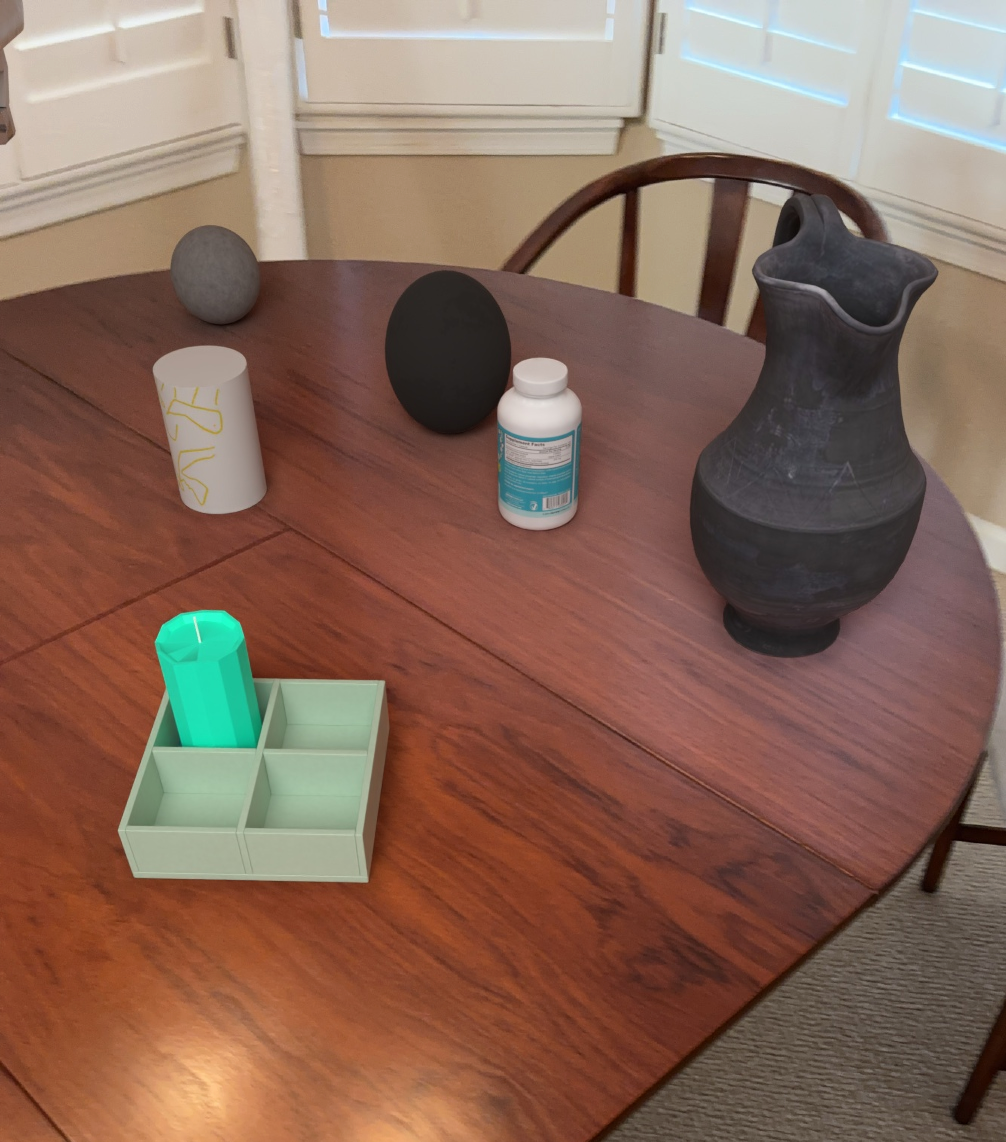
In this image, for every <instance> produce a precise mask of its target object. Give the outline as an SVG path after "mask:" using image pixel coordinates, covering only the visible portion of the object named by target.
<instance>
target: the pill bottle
mask: <svg viewBox="0 0 1006 1142" xmlns="http://www.w3.org/2000/svg"><path fill="white" fill-rule="evenodd" d="M512 369H513V370H512V387H511V388H509V389H508V390H506V391H505V392H504V394H503V396H502V398H501V399H500V401H499V403H498V405H497V409H496V412H497V413H496V414H497V416H496V417H497V502H498V503H497V506H498V510H499V512H500V515H501V516H502V518H503V519H504V520H505V521H506V522H507V523H509V524H511V525H513V526H515V527H517V528H520V529H522V530H523V529H524V530H528V531H547V530H554V529H556V528H560V527H562V526H564V525H566V524H568V522H570V521H571V520H572V519H573V518H574V516H575V515H576V513H577V510H578V503H579V487H580V485H579V484H580V464H581V463H580V460H581V442H582V440H581V439H582V420H583V408H582V403H581V400H580V399H579V396H578V395H577V394H576V393H575V392H574V391H573V390H571V389H570V388H569V387H567V386H568V385H569V370H568V366H567V365H566V364H564V363H563V361H560V360H557V359H555V358H549V357H531V358H527V359H524V360H521V361H518V362H517V363H516V364H515V365H514V366H513V368H512Z"/></svg>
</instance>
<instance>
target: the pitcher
mask: <svg viewBox="0 0 1006 1142" xmlns="http://www.w3.org/2000/svg"><path fill="white" fill-rule="evenodd" d="M751 274H752V277H753V279H754V281H755V283H756V286H757V288H758V291H759V294H760V297H761V302H762V308H763V312H764V313H763V314H764V323H765V331H766V336H765V353H764V355H765V356H764V360H763V363H762V367H761V370H760V372H759V375H758V379H757V381H756V384H755V387H754V389H753V390H752V392H751V393H750V395H749V397H748V399H747V400H746V402H745V404H744V405H743V407H742V408H741V410H740V411H739V412H738V414H737V415H736V416H735V418H734V419H733V420H732V421H731V423H730V424H728V426H727V427H726V428H725V429H724V430H723V431H721V432H720V433H719V434H718V435H716V436H715V437H714V438H713V439H712V440H711V441H710V442H709V443H708V444H707V445H706V446H705V447H704V448H703V449H702V450H701V452H700V454H699V455H698V457H697V461H696V465H695V469H694V473H693V477H692V482H691V489H690V499H689V501H690V502H689V528H690V536H691V537H690V538H691V542H692V547H693V551H694V555H695V558H696V560H697V562H698V564H699V567H700V569H701V571H702V573H703V575H704V576H705V578H706V579H707V581H708V582H709V584H710V585H711V586H712V587H713V588H714V590H715V591H716V592H717V594H719V595H720V597H721V598H723V600H725V602H726V604H725V606H724V610H723V612H722V615H723V619H722V620H723V621H722V622H723V625H724V629H725V631H726V632H727V633H728V636H730V638H732V639H733V640H734V642H736V643H737V644H739V645H741V646H742V647H744V648H745V649H748V650H750V651H752V652H754V653H757V654H761V655H763V656H764V655H765V656H769V657H776V658H798V657H799V658H800V657H804V656H805V657H806V656H809V655H813V654H817V653H820V652H822V651H825V650H826V649H828V648H829V647H830V646H831V645H832V644H833V643H834V642H835V641H837V638H838V636H839V634H840V631H841V619H840V618H843V617H844V616H846V615H848V614H850V613H852V612H854V611H856V610H859V609H860V608H863V607H864V606H866V605H867V604H869V603H870V602H872V601H873V600H874V599H875V598H876V597H878V596H879V595H880V594H881V593H882V592H883V591H884V590H885V589H886V588H887V586H888V585H889V584H890V583H891V582H892V580H893V579H894V578H895V576H896V575H897V573H898V571H899V570H900V568H901V567H902V565H903V564H904V561H905V560H906V557H907V555H908V553H909V551H910V548H911V546H912V543H913V540H914V538H915V535H916V533H917V529H918V525H919V522H920V519H921V514H922V511H923V505H924V501H925V498H926V492H927V486H928V485H927V484H928V482H927V476H926V472H925V469H924V467H923V465H922V463H921V461H920V459H919V458H918V457H917V456H916V454H915V453H914V452H913V449H912V448H911V444H910V441H909V438H908V434H907V431H906V427H905V423H904V416H903V409H902V395H901V382H900V373H899V354H900V353H899V352H900V345H901V342H902V339H903V335H904V333H905V329H906V327H907V324H908V321H909V319H910V316H911V314H912V312H913V310H914V308H915V306H916V303H918V302H919V300H920V298H921V297H922V296H923V294H924V293H925V292H926V291H927V290H928V289H929V288H930V287H931V286H933V285H934V283H935V282H936V280H937V279H938V276H939V270H938V268H937V267H936V265H935V264H934V263H933V262H932V260H931V259H929V258H928V257H927V256H924V255H923V254H921V253H919V252H917V251H914V250H913V249H910V248H907V247H904V246H901V245H898V244H893V243H889V242H885V241H881V240H877V239H872V238H867V237H862V236H858V235H855V234H854V233H853V232H851V230H849V228H848V227H847V225H846V223H845V222H844V220H843V218H842V216H841V213H840V211H839V209H838V206H837V205H836V203H835V202H834V200H833V199H832V198H831V197H830V196H829V195H826V194H821V193H814V194H811V195H807V194H805V193H801V192H800V193H799V192H798V193H796V194H795V195H793V196H791V197H789V198H788V199H786V201H785V202H784V203H783V206H782V207H781V209H780V212H779V215H778V219H777V223H776V226H775V231H774V236H773V242H772V246H771V248H770V249H767V250H765V251H764V252H763V253H761V254H760V255H759V256H758V257H757V258H756V259H755V260H754V264H753V266H752V269H751Z"/></svg>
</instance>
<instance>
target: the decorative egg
mask: <svg viewBox="0 0 1006 1142" xmlns="http://www.w3.org/2000/svg"><path fill="white" fill-rule="evenodd" d="M384 358H385V359H384V360H385V367H386V372H387V376H388V379H389V382H390V386H391V388H392V390H393V393H394V395H395V396H396V398H397V401H398V402H399V403H400V406H402V408H403V409H404V411H405V412H406V413H407V414H408V415H409V416H410V417H411V418H412V419H413V420H414V421H416V422H417V423H418V424H420V425H421V426H423V427H424V428H426V429H429V430H431V431H434V432H437V433H440V434H441V433H442V434H460V433H464V432H466V431H467V432H468V431H470V430H471V429H474V428H476V427H477V426H479V425H480V424H481V423H483V422H484V421H485V420H486V419H487V418H489V417H490V415H491V414H493V412H494V411H495V410H496V408H498V404H499V401H500V399H501V398H502V396H503V395H504V394H505V392H506V388H507V385H508V383H509V379H510V374H511V367H512V342H511V336H510V331H509V327H508V323H507V320H506V318H505V314H504V313H503V310H502V308H501V306H500V305H499V303H498V301H497V300H496V298H495V297H494V296H493V294H492V293H491V292H490V291H489V289H488V288H486V286H485V285H483V283H481V282H480V281H478V280H477V279H476V278H475V277H472V276H470V275H469V274H466V273H463V272H461V271H456V270H450V269H449V270H447V269H442V270H436V271H433V272H432V271H431V272H429V273H426V274H424V275H422V276H420V277H419V278H417V279H415V280H414V281H413V282H412V283H411V284H409V285H408V286H407V287H406V288H405V290H404V291H403V292H402V293H401V295H400V296H399V297H398V299H397V301H396V302H395V304H394V307H393V308H392V311H391V313H390V316H389V319H388V322H387V326H386V331H385V339H384Z"/></svg>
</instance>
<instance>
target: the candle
mask: <svg viewBox="0 0 1006 1142" xmlns="http://www.w3.org/2000/svg"><path fill="white" fill-rule="evenodd" d="M154 647H155V650H156V654H157V658H158V661H159V665H160V669H161V673H162V676H163V680H164V684H165V689H166V688H167V692H168V695H169V699H170V703H171V706H172V710H173V714H174V717H175V721H176V725H177V729H178V732H179V736H180V740H181V743H182V747H203V748H256V749H257V746H258V742H259V738H260V734H261V730H262V723H261V718H260V713H259V708H258V703H257V698H256V693H255V688H254V683H253V678H254V677H253V673H252V669H251V663H250V658H249V653H248V648H247V642H246V638H245V635H244V631H243V627H242V625H241V622H240V621H239V620H237V619H236V618H235V617H233V616H232V615H231V614H229V613H228V612H227V611H226V610H221V609H220V610H219V609H218V610H217V609H216V610H215V609H200V610H195V611H188V612H181V613H179V614H178V615H176V616H174V617H173V618H171V619H169V620H168V621H166V622H165V623H163V624H162V625H161V627H160V629H159V632H158V634H157V637H156V638H155V640H154Z"/></svg>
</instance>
